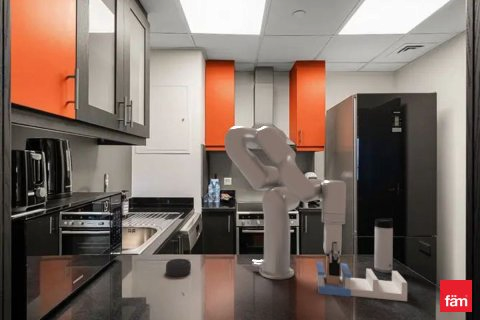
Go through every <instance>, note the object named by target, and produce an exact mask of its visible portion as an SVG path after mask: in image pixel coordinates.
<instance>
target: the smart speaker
mask: <svg viewBox="0 0 480 320" xmlns="http://www.w3.org/2000/svg"><path fill="white" fill-rule="evenodd" d="M191 271H192V263H191V261H190V260H189V259H185V258H175V259H174V258H173V259H170V260H168V261H167V262H166V264H165V273H166V274H167V275H168V276H171V277H183V276H186V275H188V274H190V273H191Z"/></svg>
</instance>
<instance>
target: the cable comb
mask: <svg viewBox="0 0 480 320" xmlns="http://www.w3.org/2000/svg"><path fill="white" fill-rule="evenodd" d="M316 283H317V291H318V294H323V295H329V296H330V295H331V296H332V295H333V296H342V297H351V296H352V297H361V298H369V299H380V300H381V299H383V300H390V301H400V302H401V301H402V302H408V282H407V281H406V280H405V278H404V277H403V276H402V275H401V274H400V273H399V272H398V270H392V272H391V280H383V279H382V280H381V279H378V277H377V276H376V275H375V272H373V270H372V268H366V269H365V278H360V277H352V273H351V270H350V268H349V267H348V263H343V262H342V263H341V262H340V285H332V284H326V271H325V267H324V264H323V261H318V260H317V261H316Z"/></svg>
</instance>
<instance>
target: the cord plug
mask: <svg viewBox="0 0 480 320" xmlns="http://www.w3.org/2000/svg"><path fill="white" fill-rule="evenodd" d="M331 253H333V252H331ZM329 254H330V253H329ZM329 262H330V255H329V256H327V255H326V256H325V275H326V284H332V285H340V277H341V275H340V276H330V275H329ZM339 263H341V259H339Z"/></svg>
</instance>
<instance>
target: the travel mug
mask: <svg viewBox="0 0 480 320" xmlns="http://www.w3.org/2000/svg"><path fill="white" fill-rule="evenodd" d="M394 221H395V220H394V219H393V218H391V217H390V218H387V217H386V218H382V217H381V218H376V219H375V220H374V257H373V259H374V260H373V261H374V265H373V266H374V270H375V271H376V272H378V273H379V272H380V273H383V274H392V271H393V256H394V255H393V249H394V248H393V246H394V245H393V244H394V243H393V242H394V241H393V239H394V238H393V237H394V228H393V224H394V223H393V222H394Z"/></svg>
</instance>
